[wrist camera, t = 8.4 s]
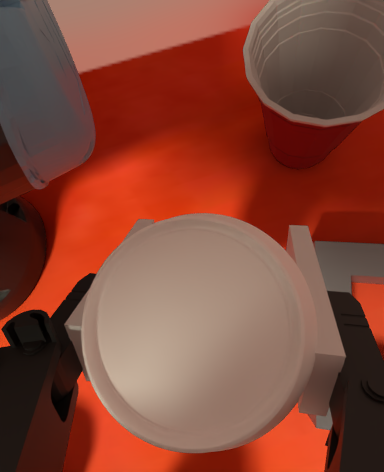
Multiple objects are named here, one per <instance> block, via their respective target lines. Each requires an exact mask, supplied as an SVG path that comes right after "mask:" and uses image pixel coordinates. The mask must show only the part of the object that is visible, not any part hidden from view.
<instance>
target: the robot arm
mask: <svg viewBox="0 0 384 472" xmlns="http://www.w3.org/2000/svg"><path fill="white" fill-rule="evenodd" d="M95 140H96V132H95V125H94V120H93V116H92V112H91V109H90V105H89V102H88V99H87V96H86V93H85V90H84V88H83V85H82V82H81V79H80V77H79V74H78V71H77V69H76V67H75V64H74V61H73V59H72V56H71V54H70V51H69V49H68V47H67V44H66V42H65V39H64V37H63V35H62V33H61V30H60V28H59V26H58V23H57V21H56V19H55V17H54V14H53V12H52V10H51V8H50V6H49V4H48V1H47V0H0V320H2V319H3V318H5V317H7V316H8V315H9V314H11V313H12V312H13V311H14V310H16V309H17V308H18V307H19V306H20V305H21V304H22V303H23V302H24V301H25V299H26V298H27V297H28V296H29V294H30V293H31V291H32V290H33V288H34V286H35V285H36V283H37V281H38V279H39V276H40V274H41V271H42V268H43V265H44V261H45V256H46V233H45V228H44V225H43V222H42V219H41V217H40V215H39V214H38V212H37V211H36V209H35V208H34V207H33V206H32V205H31V204H30V203H29V202H28V201H27V200H25V199H24V198H22V197H20V195H22V194H25V193H27V192H29V191H31V190H33V189H39V190H40V189H43V188H45V187H46V186H48V184H49V181H51V180H53V179H55V178H57V177H59V176H61V175H63V174H64V173H66V172H68V171H70V170H72V169H74V168H76V167H78V166H80V165H81V164H83V163H84V162H85V161H86V160H87V159H88V158H89V157H90V156H91V154H92V152H93V150H94V146H95ZM151 224H154V220H149V219H138V221H137V222H136V223H135V225H134V226H133V228H132V229H131V230H130V232H129V233H128V235H127V236H126V238H125V239H124V240H123V241H125V240H126V239H127V238H128V237H130V236H131V235H133V234H134V233H136V232H137V231H139V230H141V229H143V228H145V227H147V226H149V225H151ZM286 252H287V253H288V254H289V255H290V257H291V258H292V259H293V260H294V262H295V263H296V265H297V266H298V268H299V269H300V271H301V273H302V275H303V276H304V278H305V280H306V283H307V285H308V287H309V290H310V293H311V296H312V299H313V302H314V306H315V311H316V318H317V329H318V339H317V349H316V351H315V362H314V366H313V370H312V373H311V376H310V378H309V381H308V383H307V386H306V388H305V390H304V392H303V394H302V395H301V397H300V399H299V400H298V408H299V413H306V414H313V415H319V416H326V415H327V412H328V409H329V407H330V412H331V417H332V422H333V424H332V427H331V430H330V433H329V435H328V438H327V441H326V444H325V445H326V446H328V449H327V456H326V463H325V470H324V472H384V361H383V358H382V356H381V353H380V351H379V348H378V346H377V343H376V341H375V339H374V336H373V334H372V331H371V329H369V324H368V322H367V319H366V318H365V314H364V312H363V309H362V307H361V304H360V303H359V302H358V301H357V300H356V299H355V298H354V297H353V296H352V295H351V294H350V293H349V292H337V291H327V290H326V287H325V283H324V280H323V276H322V273H321V269H320V266H319V263H318V259H317V256H316V252H315V249H314V245H313V242H312V239H311V235H310V232H309V228H308V226H301V225H289V232H288V239H287V247H286ZM95 276H96V274H93V273H89V274H88V275H87V276H85V277H84V278H82V279H81V280H80V281H78V283H77V284H76V285H75V287H74V288H73V289H72V292H70V293H69V294H68V296H67V297H66V300H64V301H63V302H62V303H61V305H60V306H59V307H58V309H57V310H56V311H55V312H54V314H53V315H52V316H51V318H49V316H48V314H47V313H46V312H44V311H42V310H30V311H26V312H23V313H21V314H19V315H16V316H14V317H13V318H12V319H11V320H9V321H8V322H7V323H6V324H5V325H4V327H3V328H2V331H3V333H4V335H5V337H6V338H7V340H8V342H9V344H10V346H7V347H1V348H0V472H62V470H63V465H64V460H65V455H66V450H67V445H68V440H69V435H70V431H71V426H72V421H73V416H74V411H75V406H76V401H77V397H78V384H77V379H78V377H79V376H80V374H81V372H82V371H83V373H84V376H85V378H86V381H90V378H89V376H88V373H87V370H86V366H85V362H84V357H83V351H82V341H81V327H82V317H83V311H84V306H85V302H86V298H87V295H88V292H89V289H90V287H91V285H92V282H93V280H94V278H95Z"/></svg>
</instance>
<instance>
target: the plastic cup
mask: <svg viewBox="0 0 384 472" xmlns="http://www.w3.org/2000/svg"><path fill="white" fill-rule="evenodd" d="M243 55H244V62H245V70H246V77H247V80H248V82H249V83H250V84H251V86H252V87H253V89H254V90H255V92H256V93H257V95H258V97H259V101H260V102H261V106H262V112H263V117H264V123H265V128H266V134H267V137H268V140H269V146H270V150H271V152H272V154H273V155H274V157H275V158H276V160H277V161H278V162H280V163H282V164H283V165H285V166H286V167H291V168H295V169H302V168H309V167H311V166H313V165H315V164H317V163H319V162H320V161H322V160H324V159H325V157H326V156H327V155H328V154H329V153H330V152H331V151H332V150H333V149H335V148H336V147H337V146H338V145H339V144H340V143H341V142H342V141H343V140H344V139H345V138H346V137H347V136H348V135H349V134H350V133H351V132H352V131H353V130H354V129H355V128H356V127H357V126H358V125H359V124H360V123H361V122H362V121H363V120H365V119H366V118H368V117H370V116H372V115H374V114H375V113H377V112H379V111H381V110H383V109H384V0H270V1H269V2H268V3H267V4H266V5H265V7H264V8H263V9H262V10H261V11H260V13H259V14H258V15H257V16H256V17H255V19H254V20H253V21H252V23H251V26H250V29H249V32H248V35H247V38H246V41H245V44H244V47H243Z"/></svg>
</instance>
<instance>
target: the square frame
mask: <svg viewBox="0 0 384 472" xmlns="http://www.w3.org/2000/svg"><path fill="white" fill-rule="evenodd" d="M313 245H314V249H315V252H316V256H317V259H318V263H319V266H320V269H321V273H322V276H323V280H324V283H325V287H326V290H327V291H337V292H349V293H350V294H351V295H352V292H351V282H357V283H371V284H384V244H372V243H351V242H330V241H314V242H313ZM308 415H309V417H310V419H311V420H312V422H313V424H314V425H315V427H316V428H320V429H326V430H331V427H332V424H333V422H332V417H331V412H330V407H329V409H328V412H327V415H326V416H319V415H313V414H308Z"/></svg>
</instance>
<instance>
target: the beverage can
mask: <svg viewBox="0 0 384 472" xmlns="http://www.w3.org/2000/svg"><path fill="white" fill-rule="evenodd" d="M317 339H318V329H317V318H316V311H315V306H314V302H313V299H312V296H311V293H310V290H309V287H308V285H307V283H306V280H305V278H304V276H303V275H302V273H301V271H300V269H299V268H298V266H297V265H296V263H295V262H294V260H293V259H292V258H291V257H290V255H289V254H288V253H287V252H286V251H285V250H284V249H283V247H282V246H281V245H279V244H278V243H277V242H276V241H275V240H274V239H273V238H271V237H270V236H269V235H267V234H266V233H265V232H263V231H261V230H260V229H258V228H256V227H255V226H253V225H251V224H249V223H246V222H244V221H241V220H239V219H236V218H232V217H229V216H224V215H218V214H209V213H197V214H187V215H181V216H177V217H173V218H170V219H166V220H162V221H159V222H156V223H154V224H151V225H149V226H147V227H145V228H143V229H141V230H139V231H137V232H136V233H134V234H133V235H131V236H130V237H128V238H127V239H126V240H125V241H123V242H122V243H121V244H120V245H119V246H118V247H117V248H116V249H115V250H114V251H113V252H112V253H111V254H110V255H109V257H108V258H107V259H106V260H105V262H104V263H103V265H102V266H101V268H100V269H99V271H98V273H97V274H96V276H95V278H94V280H93V282H92V285H91V287H90V289H89V292H88V295H87V298H86V302H85V306H84V311H83V317H82V327H81V341H82V351H83V357H84V362H85V366H86V370H87V373H88V376H89V378H90V381H91V383H92V386H93V388H94V390H95V392H96V394H97V395H98V397H99V399H100V400H101V402H102V403H103V405H104V406H105V408H106V409H107V410H108V412H109V413H110V414H111V415H112V416H113V417H114V418H115V419H116V420H117V421H118V422H119V423H120V424H121V425H122V426H123V427H124V428H125V429H127V430H128V431H129V432H131V433H132V434H133V435H135V436H137V437H138V438H140V439H142V440H143V441H145V442H147V443H150V444H152V445H154V446H157V447H160V448H163V449H166V450H170V451H175V452H182V453H206V452H215V451H223V450H228V449H233V448H236V447H239V446H242V445H245V444H247V443H250V442H252V441H254V440H256V439H258V438H260V437H261V436H263V435H264V434H266V433H267V432H269V431H270V430H272V429H273V428H274V427H275V426H277V425H278V424H279V423H280V422H281V421H282V420H283V419H284V418H285V417H286V416H287V415H288V414H289V412H290V411H291V410H292V409H293V407H294V406H295V405H296V403H297V402H298V400H299V399H300V397H301V395H302V394H303V392H304V390H305V388H306V386H307V383H308V381H309V378H310V376H311V373H312V370H313V366H314V362H315V351H316V349H317Z"/></svg>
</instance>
